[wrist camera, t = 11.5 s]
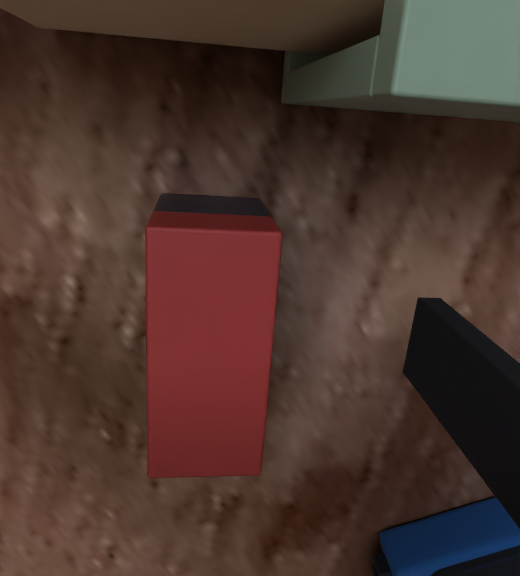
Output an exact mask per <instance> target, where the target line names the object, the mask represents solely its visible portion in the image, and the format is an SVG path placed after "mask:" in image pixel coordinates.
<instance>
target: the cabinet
mask: <svg viewBox="0 0 520 576" xmlns="http://www.w3.org/2000/svg"><path fill="white" fill-rule="evenodd" d="M281 103H283V104H296V105H308V106H321V107H333V108H346V109H359V110H371V111H384V112H397V113H409V114H422V115H434V116H447V117H460V118H472V119H485V120H498V121H510V122H520V0H385V2H384V10H383V17H382V24H381V31H380V35H378V36H376V37H373V38H371V39H368V40H366V41H363V42H361V43H358V44H356V45H354V46H351V47H349V48H346V49H344V50H341V51H339V52H336V53H334V54H331V55H324V54H313V53H303V52H292V51H285V57H284V70H283V82H282V95H281Z"/></svg>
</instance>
